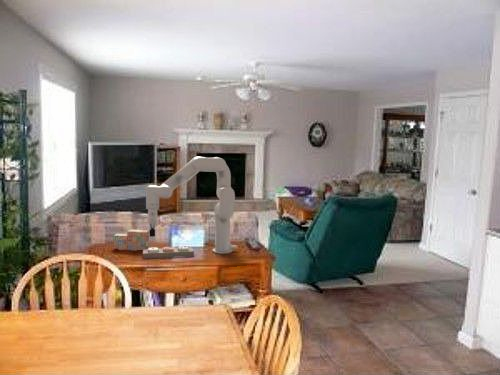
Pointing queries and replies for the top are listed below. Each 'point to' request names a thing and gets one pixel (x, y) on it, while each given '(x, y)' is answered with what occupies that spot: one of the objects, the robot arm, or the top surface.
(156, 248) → the tile one
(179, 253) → the tile panel
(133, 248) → the stack of blocks
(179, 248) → the tile two
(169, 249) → the tile three
